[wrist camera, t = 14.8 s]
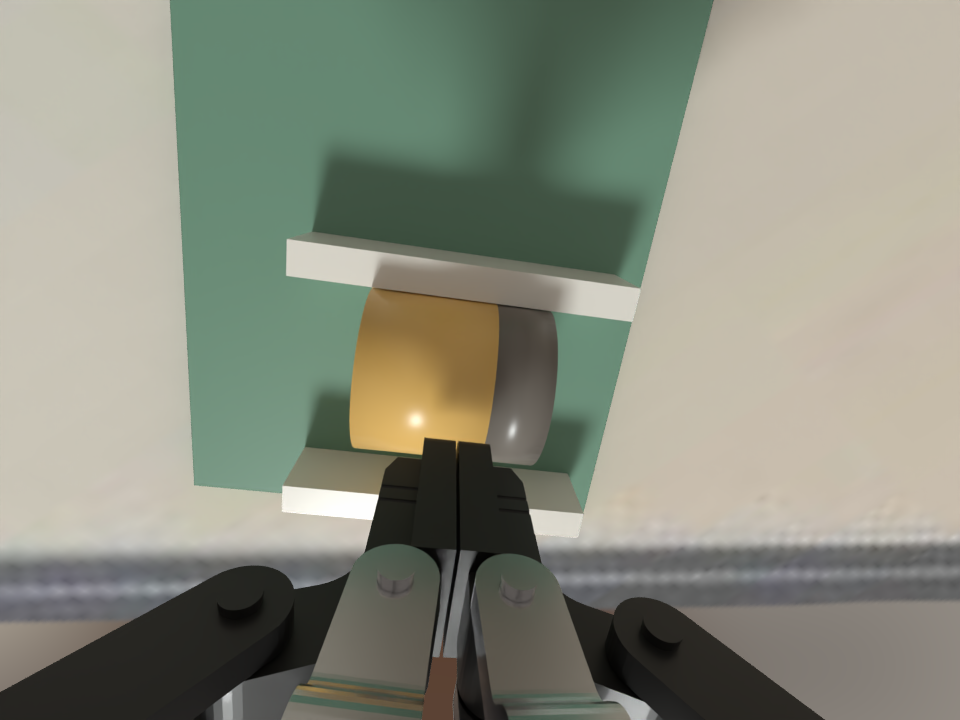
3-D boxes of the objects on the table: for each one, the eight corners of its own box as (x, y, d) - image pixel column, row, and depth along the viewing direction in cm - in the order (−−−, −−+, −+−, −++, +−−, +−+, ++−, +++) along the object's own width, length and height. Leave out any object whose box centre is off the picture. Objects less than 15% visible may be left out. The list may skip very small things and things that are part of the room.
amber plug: (383, 302, 17) (366, 267, 12) (528, 321, 18) (565, 294, 13) (366, 439, 17) (341, 458, 12) (514, 454, 17) (547, 478, 12)
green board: (180, -96, 13) (164, -113, 13) (700, 8, 15) (713, -2, 14) (204, 473, 19) (194, 485, 18) (576, 508, 20) (581, 520, 20)
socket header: (312, 231, 16) (286, 239, 13) (614, 274, 16) (641, 288, 14) (303, 470, 18) (281, 511, 16) (562, 495, 19) (577, 538, 17)
